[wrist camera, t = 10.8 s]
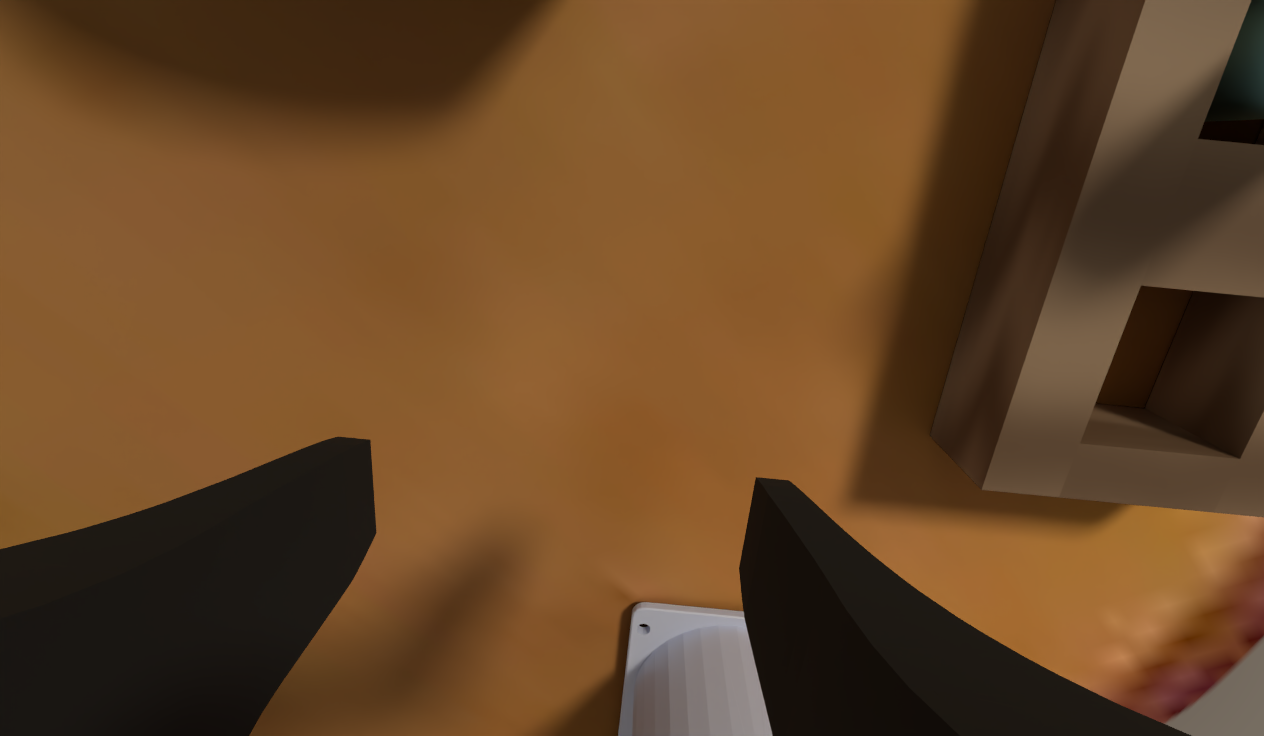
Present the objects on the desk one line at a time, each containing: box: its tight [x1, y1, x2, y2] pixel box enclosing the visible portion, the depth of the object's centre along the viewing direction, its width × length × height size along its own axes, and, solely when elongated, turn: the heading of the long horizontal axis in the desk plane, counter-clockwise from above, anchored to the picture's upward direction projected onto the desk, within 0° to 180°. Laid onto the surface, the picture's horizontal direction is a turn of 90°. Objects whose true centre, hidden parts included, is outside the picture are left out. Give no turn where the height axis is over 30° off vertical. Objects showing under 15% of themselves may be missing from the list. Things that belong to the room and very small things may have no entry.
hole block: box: [930, 0, 1264, 517], centre depth 16 cm, size 16×9×4 cm, turn 175°
